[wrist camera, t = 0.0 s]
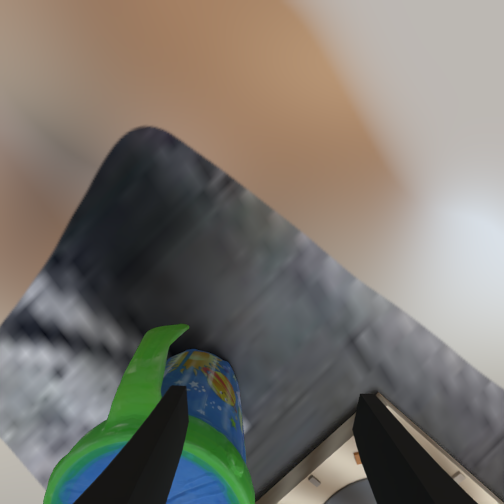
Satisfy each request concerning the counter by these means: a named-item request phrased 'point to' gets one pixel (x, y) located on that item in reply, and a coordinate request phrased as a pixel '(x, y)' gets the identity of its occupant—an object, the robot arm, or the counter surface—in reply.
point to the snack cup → (198, 432)
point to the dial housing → (358, 471)
